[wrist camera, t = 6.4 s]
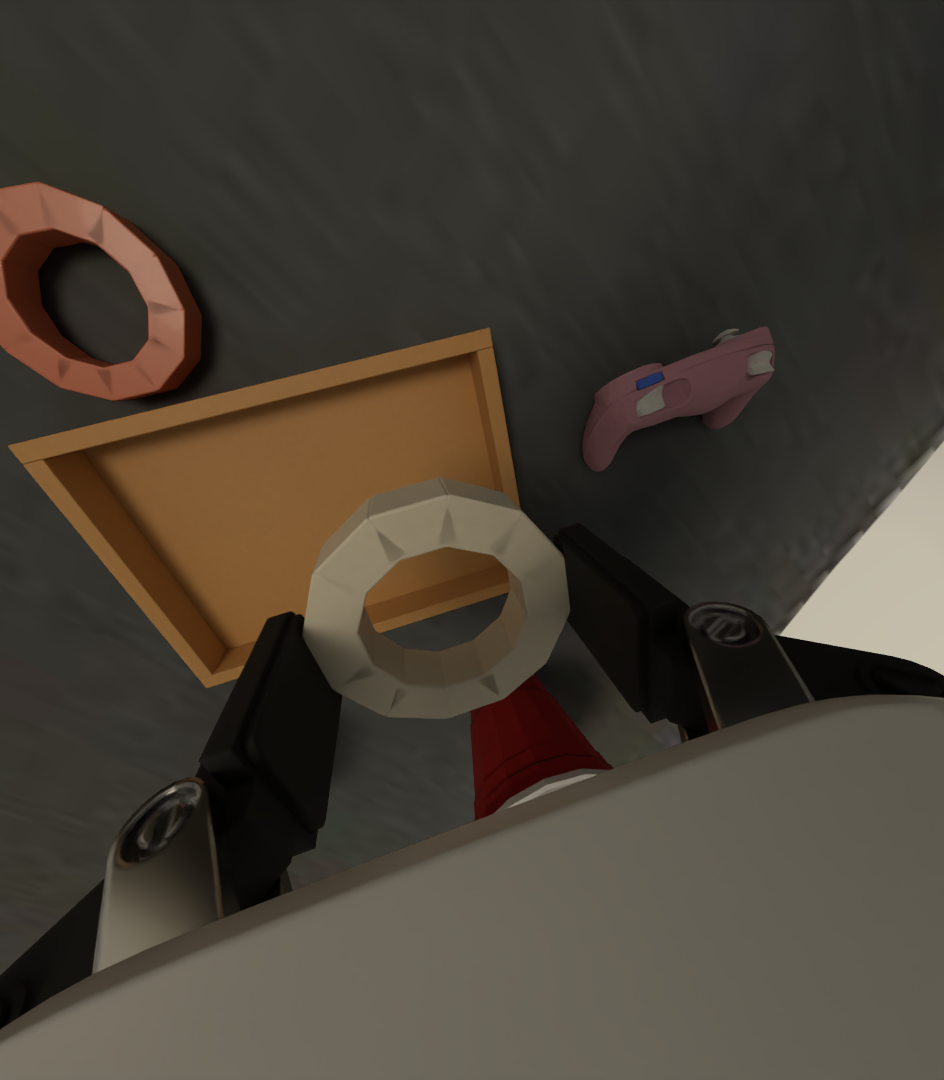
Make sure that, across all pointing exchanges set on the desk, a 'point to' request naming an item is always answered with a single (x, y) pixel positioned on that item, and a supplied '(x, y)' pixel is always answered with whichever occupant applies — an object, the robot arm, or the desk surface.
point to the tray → (281, 492)
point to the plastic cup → (527, 749)
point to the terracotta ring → (65, 219)
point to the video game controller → (679, 392)
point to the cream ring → (410, 530)
